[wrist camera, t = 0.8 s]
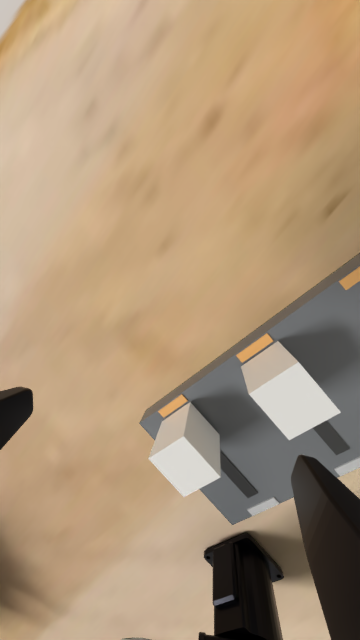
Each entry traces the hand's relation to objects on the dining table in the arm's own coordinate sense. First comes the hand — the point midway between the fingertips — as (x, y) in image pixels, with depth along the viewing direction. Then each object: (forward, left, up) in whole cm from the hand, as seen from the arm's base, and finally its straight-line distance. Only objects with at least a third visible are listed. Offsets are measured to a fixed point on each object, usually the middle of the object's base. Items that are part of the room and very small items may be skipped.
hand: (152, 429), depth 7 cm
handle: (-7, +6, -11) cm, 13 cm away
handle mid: (-7, -3, -10) cm, 13 cm away
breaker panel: (-11, -3, -13) cm, 17 cm away
